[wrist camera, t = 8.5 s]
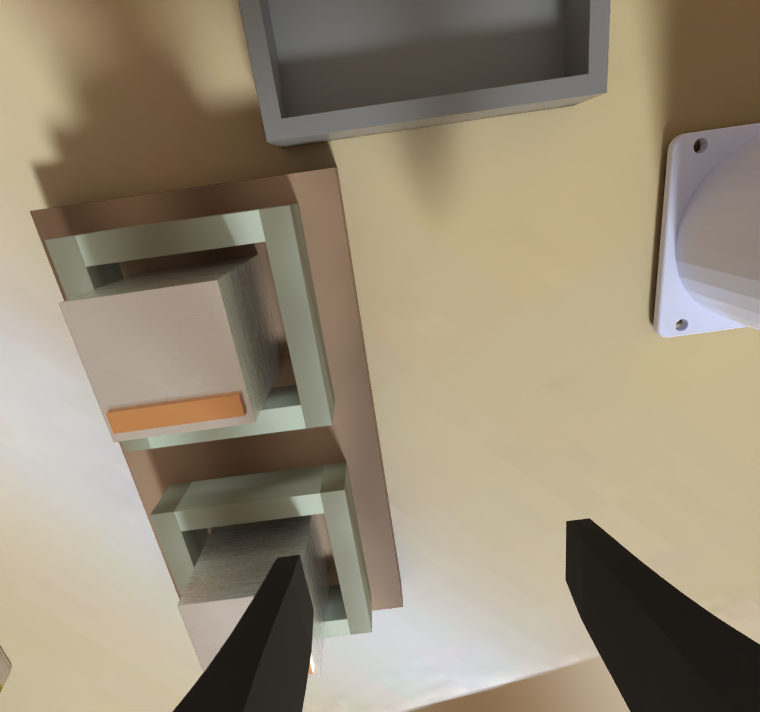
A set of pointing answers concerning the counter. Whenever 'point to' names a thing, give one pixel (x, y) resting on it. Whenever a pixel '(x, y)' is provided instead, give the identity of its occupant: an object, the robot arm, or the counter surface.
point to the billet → (251, 580)
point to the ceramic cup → (4, 669)
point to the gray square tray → (418, 62)
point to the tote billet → (178, 347)
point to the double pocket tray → (289, 392)
